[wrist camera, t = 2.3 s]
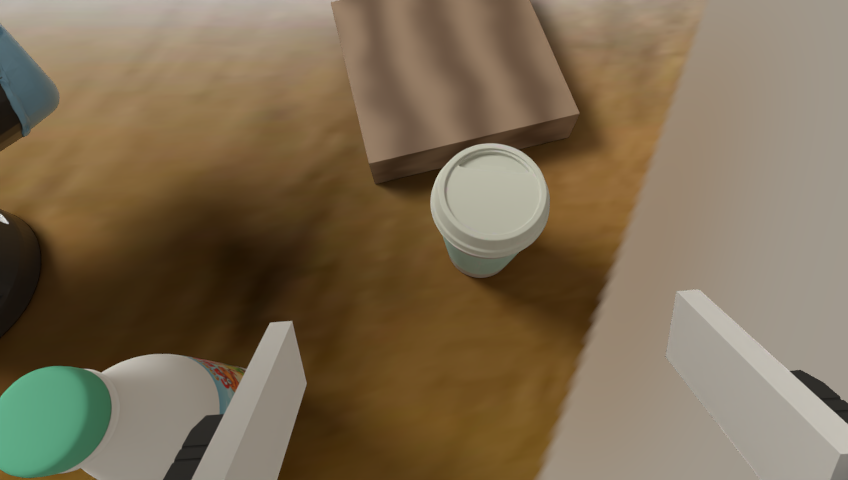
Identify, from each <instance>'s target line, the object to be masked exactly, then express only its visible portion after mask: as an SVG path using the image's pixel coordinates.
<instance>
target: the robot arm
mask: <svg viewBox="0 0 848 480" xmlns="http://www.w3.org/2000/svg"><path fill="white" fill-rule="evenodd" d="M59 98H60V97H59V92H58V89H57V87H56V85H55V84H54V83H53V81H52V80H51V79H50V78H49V77H48V76H47V75H46V74H45V72H44V71H43V70H42V69H41V68H40V67H39V66H38V65H37V63H36V62H35V61H34V60H33V59H32V58H31V57H30V56H29V55H28V53H27V52H26V51H25V50H24V49H23V48H22V47H21V46H20V45H19V43H18V42H17V41H16V40H15V39H14V38H13V37H12V36H11V35H10V33H9V32H8V31H7V30H6V29H5V28H4V27H3V26H2V25H1V23H0V151H2V150H3V149H5V148H6V147H8V146H9V145H11V144H13V143H14V142H16V141H17V140H19V139H20V138H22V137H25V136H27V135H28V134H29V133H30V130H31V129H32V128H33V127H34V126H36V125H37V124H38V123H39V122H41V121H42V120H43V119H45V118H46V117H47V116H48V115H50V114H51V113H52V112H53V111H54V110H55V109H56V108H57V106H58V104H59ZM40 266H41V255H40V248H39V244H38V241H37V239H36V236H35V234H34V233H33V231H32V230H31V228H30V227H29V226H28V225H27V224H26V223H25V222H24V221H23V220H21V219H20V218H18V217H16V216H15V215H12V214H10V213H8V212H6V211H4V210H1V209H0V337H1V336H2V335H3V334H4V333H5V332H6V331H7V330H8V329H9V328H10V327H11V326H12V325H13V324H14V323H15V322H16V320H17V319H18V318H19V317H20V315H21V314H22V312H23V311H24V310H25V308H26V306H27V305H28V303H29V301H30V299H31V297H32V295H33V293H34V290H35V288H36V285H37V282H38V278H39V274H40ZM666 358H667V359H668V361H669V362H670V363H671V365H672V366H673V367H674V368H675V370H676V371H677V372H678V374H679V375H680V376H681V377H682V379H683V380H684V381H685V383H686V384H687V385H688V387H689V388H690V389H691V390H692V392H693V393H694V394H695V396H696V397H697V398H698V400H699V401H700V402H701V404H702V405H703V406H704V407H705V409H706V410H707V411H708V412H709V414H710V415H711V416H712V418H713V419H714V420H715V422H716V423H717V424H718V425H719V427H720V428H721V429H722V431H723V432H724V433H725V435H726V436H727V437H728V438H729V440H730V441H731V442H732V444H733V445H734V446H735V448H736V449H737V450H738V452H739V453H740V454H741V455H742V457H743V458H744V459H745V461H746V462H747V463H748V464H749V466H750V467H751V468H752V470H753V471H754V472H755V474H756V475H757V476H758V477H759V479H760V480H848V403H847V402H845V401H844V400H841V399H840V396H838V395H837V394H836V393H835V392H834V391H833V390H831V389H830V388H829V387H828V386H827V385H826V384H824V383H823V382H821V381H820V380H818V379H816V378H814V377H812V376H811V375H809V374H807V373H805V372H803V371H801V370H796V371H789V370H787V369H786V368H785V367H784V366H783V365H782V364H781V363H780V362H779V361H777V360H776V359H775V358H774V357H773V356H772V355H771V354H770V353H769V352H768V351H766V350H765V349H764V348H763V347H762V346H761V345H760V344H759V343H758V342H757V341H755V340H754V339H753V338H752V337H751V336H750V335H749V334H748V333H747V332H746V331H744V330H743V329H742V328H741V327H740V326H739V325H738V324H737V323H736V322H735V321H733V320H732V319H731V318H730V317H729V316H728V315H727V314H726V313H725V312H723V311H722V310H721V309H720V308H719V307H718V306H717V305H716V304H715V303H714V302H712V301H711V300H710V299H709V298H708V297H707V296H706V295H705V294H704V293H702V292H701V291H700V290H685V291H676V296H675V302H674V308H673V314H672V320H671V327H670V332H669V339H668V345H667V350H666ZM306 385H307V382H306V378H305V374H304V370H303V365H302V361H301V357H300V353H299V348H298V344H297V340H296V336H295V331H294V327H293V323H292V321H284V322H271V323H270V324H269V326H268V328H267V330H266V332H265V334H264V336H263V338H262V340H261V342H260V344H259V346H258V348H257V350H256V352H255V354H254V356H253V358H252V360H251V362H250V364H249V366H248V368H247V370H246V372H245V374H244V376H243V378H242V380H241V382H240V384H239V386H238V388H237V390H236V392H235V394H234V396H233V398H232V400H231V402H230V404H229V406H228V408H227V410H226V412H225V414H217V415H206V416H205V417H204V418H203V419H202V420H201V421H200V422H199V423H198V424H197V425H196V426H194V427H193V428H192V429H191V431H190V432H189V434H188V436H187V438H186V440H185V441H184V443H183V445H182V449H180V450H179V452H178V454H177V455H176V457H175V459H174V463H172V464H171V466H170V468H169V470H168V471H167V473H166V475H165V477H164V479H163V480H277V478H278V475H279V472H280V469H281V466H282V462H283V459H284V456H285V453H286V449H287V446H288V443H289V440H290V436H291V433H292V430H293V427H294V423H295V420H296V417H297V414H298V410H299V407H300V404H301V401H302V397H303V394H304V391H305V388H306Z"/></svg>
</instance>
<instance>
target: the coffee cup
mask: <svg viewBox="0 0 848 480" xmlns="http://www.w3.org/2000/svg"><path fill="white" fill-rule="evenodd" d="M549 207H550V196H549V191H548V187H547V184H546V182H545V179H544V177H543V174H542V172H541V170H540V169H539V167H538V166H537V165H536V163H535V162H534V161H533V160H532V159H531V158H530V157H528V156H527V155H526V154H524V153H523V152H521V151H519V150H517V149H515V148H513V147H510V146H507V145H502V144H494V143H486V144H479V145H475V146H472V147H469V148H467V149H465V150H463V151H461V152H459V153H458V154H457V155H455V156H454V157H453V158H452V159H451V160H450V161H449V162H448V163H447V164H446V165H445V166H444V167H443V168H442V170H441V171H440V173H439V174H438V176H437V178H436V180H435V183H434V186H433V189H432V193H431V212H432V216H433V219H434V222H435V224H436V226H437V228H438V229H439V231H440V232H441V234H442V235H443V238H444V241H445V244H446V247H447V250H448V253H449V256H450V259H451V261H452V262H453V264H454V265H455V267H456V268H457V269H458V270H460V271H461V272H462V273H464V274H466V275H468V276H471V277H476V278H485V277H490V276H493V275H495V274H497V273H498V272H500V271H501V270H502V269H503V268H504V267H505V266H506V265H507V264H508V263H509V262H510V261H511V260H512V259H513V258H514V257H515V256H516V255H517V254H518V253H519V252H520V251H522V250H523V249H525V248H527V247H528V246H529V245H531V244H532V243H533V242H534V241H535V240H536V239H537V238H538V237H539V235H540V234H541V232H542V231H543V229H544V227H545V225H546V222H547V219H548V216H549Z"/></svg>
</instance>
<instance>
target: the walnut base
mask: <svg viewBox="0 0 848 480" xmlns="http://www.w3.org/2000/svg"><path fill="white" fill-rule="evenodd" d="M331 6H332V10H333V14H334V18H335V22H336V27H337V31H338V35H339V39H340V43H341V48H342V52H343V56H344V60H345V64H346V69H347V73H348V77H349V81H350V85H351V90H352V94H353V98H354V102H355V106H356V111H357V115H358V119H359V123H360V128H361V132H362V136H363V140H364V144H365V149H366V153H367V157H368V161H369V165H370V168H371V172H372V175H373V178H374V182H375V184H377V183H381V182H386V181H390V180H394V179H398V178H402V177H406V176H410V175H415V174H419V173H423V172H427V171H431V170H435V169H439V168H443V167H444V166H445V165H446V164H447V163H448V162H449V161H450V160H451V159H452V158H453V157H454V156H455V155H457V154H458V153H459V152H461V151H463V150H465V149H467V148H469V147H472V146H475V145H479V144H486V143H494V144H502V145H507V146H510V147H513V148H515V149H517V150H518V149H522V148H527V147H531V146H535V145H539V144H543V143H547V142H552V141H556V140H560V139H564V138H568V137H569V136H570V134H571V131H572V129H573V127H574V125H575V123H576V120H577V118H578V116H579V114H580V113H579V111H578V108H577V106H576V104H575V102H574V99H573V97H572V95H571V92H570V90H569V88H568V86H567V83H566V81H565V79H564V77H563V74H562V72H561V70H560V68H559V65H558V63H557V61H556V59H555V56H554V54H553V52H552V50H551V47H550V45H549V43H548V40H547V38H546V36H545V34H544V31H543V29H542V27H541V25H540V22H539V20H538V18H537V16H536V13H535V11H534V9H533V7H532V4H531V2H530V0H339V1H335V2H331Z"/></svg>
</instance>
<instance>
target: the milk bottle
mask: <svg viewBox="0 0 848 480" xmlns="http://www.w3.org/2000/svg"><path fill="white" fill-rule="evenodd" d="M246 370H247V369H245V368H241V367H237V366H233V365H228V364H224V363H219V362H214V361H209V360H204V359H199V358H194V357H189V356H182V355H174V354H150V355H144V356H139V357H135V358H131V359H128V360H125V361H123V362H120V363H118V364H116V365H114V366H112V367H110V368H108V369H106V370H105V371H103V372H98V371H96V370H92V369H81V368H76V367H69V366H51V367H45V368H41V369H37V370H34V371H32V372H30V373H28V374H26V375H24V376H22V377H21V378H19V379H18V380H17V381H15V382H14V383H13V384H12V385H11V386H10V387H9V388H8V389H7V390H6V391H5V392H4V393H3V395H2V396H1V397H0V469H1V470H2V471H4V472H5V473H7V474H10V475H13V476H17V477H22V478H34V477H43V476H49V475H54V474H58V473H67V472H71V471H74V470H77V469H79V468H81V469H83V470H84V471H85V472H86V473H88V474H89V475H91V476H93V477H94V478H96V479H98V480H163V479H164V477H165V475H166V473H167V471H168V470H169V468H170V466H171V464H172V463H174V459H175V457H176V455H177V454H178V452H179V450H180V449H182V445H183V443H184V441H185V440H186V438H187V436H188V434H189V432H190V431H191V429H192V428H193V427H194V426H196V425H197V424H198V423H199V422H200V421H201V420H202V419H203V418H204V417H205V416H206V415H217V414H225V412H226V410H227V408H228V406H229V404H230V402H231V400H232V398H233V396H234V394H235V392H236V390H237V388H238V386H239V384H240V382H241V380H242V378H243V376H244V374H245V372H246Z"/></svg>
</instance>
